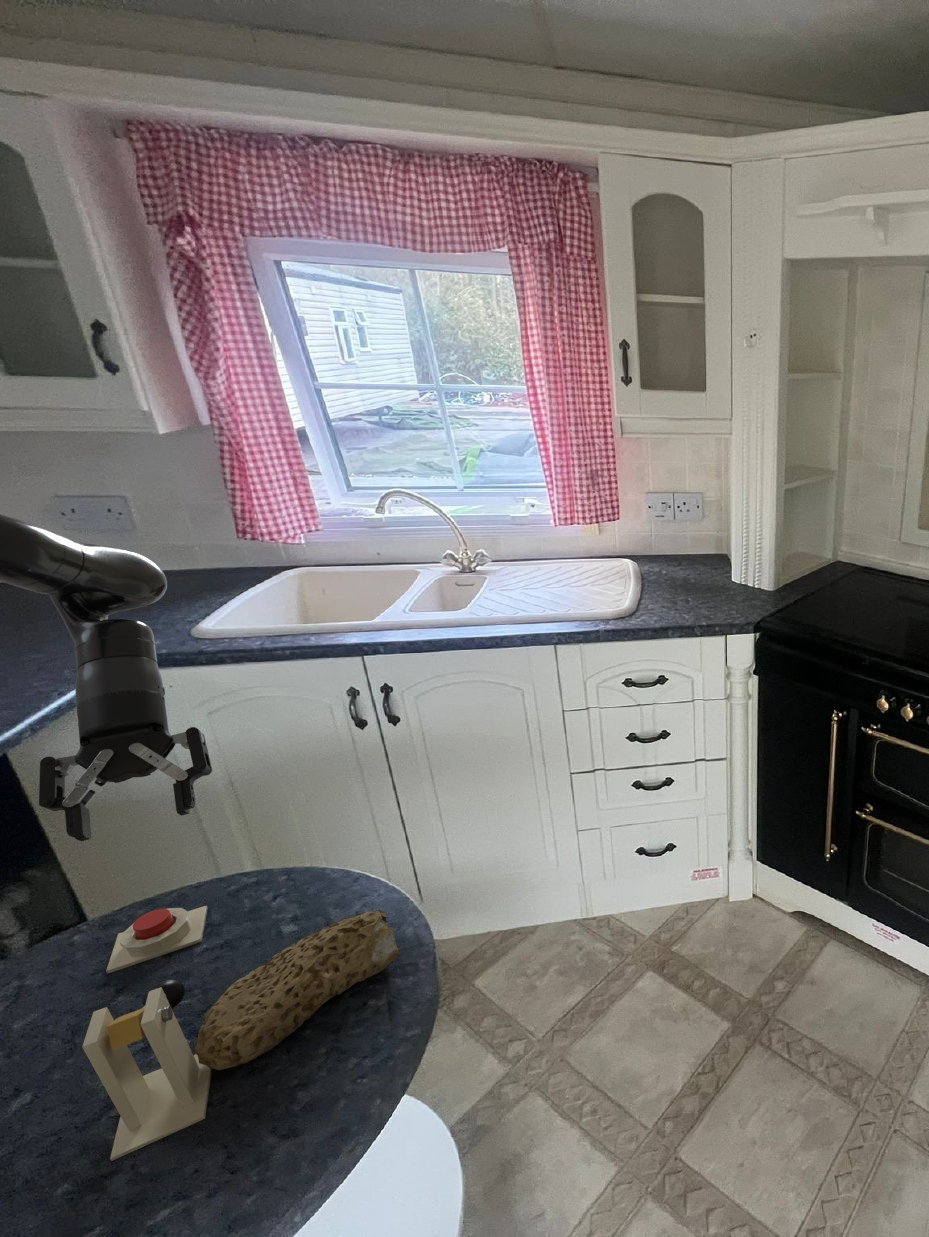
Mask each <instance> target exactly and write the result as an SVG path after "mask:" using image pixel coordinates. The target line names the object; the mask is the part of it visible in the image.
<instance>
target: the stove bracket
mask: <svg viewBox="0 0 929 1237" xmlns="http://www.w3.org/2000/svg"><path fill="white" fill-rule="evenodd" d="M114 1020H115V1019H114V1017H113V1016H112V1014H111V1011H110V1010H109V1008H108V1006H106V1007H103V1008H101V1009H100V1008H99V1009H98V1010H97V1009H96V1010H94V1011H93V1012H92V1015H91V1018H90V1022H89V1024H88V1028H87V1031H86V1034H85V1037H84V1040H83V1043H82V1047H81V1048H82V1049H83V1051H84V1053H85V1055H86V1056H87V1058H88V1060H89V1062H90V1064H91V1066H92V1067H93V1069H94V1071H95V1073H96V1075H97V1077H98V1078H99V1081H100V1082H101V1084H102V1085H103V1087H104V1088H105V1091H106V1093H107V1094H108V1096H109V1098H110V1100H111V1102H112V1103H113V1105H114V1107H115V1109H116V1110H117V1113H118V1114H119V1116H120V1117H119V1119H118V1120H119V1121H118V1125H117V1128H116V1133H115V1138H114V1141H113V1145H112V1150H111V1154H110V1156H109V1160H110V1161H111V1162H114V1161H116V1160H117V1159H120V1158H122V1157H123V1156H126V1155H128V1154H130V1153H132V1152H135V1151H137V1150H139V1149H141V1148H143V1147H146V1146H148V1145H150V1144H153V1143H154V1142H157V1141H159V1140H162V1139H163V1138H165V1137H167V1136H170V1135H172V1134H174V1133H177V1132H178V1131H182V1130H183V1129H185V1128H188V1127H190V1126H192V1125H194V1124H197V1123H198V1122H200V1121H203V1120H205V1119H206V1116H207V1110H208V1102H209V1095H210V1094H209V1093H210V1086H211V1079H212V1071H213V1069H212V1068H209V1067H208V1066H206V1065H204V1064H200V1063H199V1059H198V1055H197V1054H196V1053H195V1054H193V1052H192V1049H191V1047H190V1045H189V1043H188V1041H187V1038H186V1037H185V1034H184V1033H183V1030H182V1027H181V1026H180V1024H179V1021H178V1019H177V1017H176V1015H175V1013H174V1011H173V1009H172V1008H171V1006H170V1004H169V1002H168V1000H167V998H166V996H165V994H164V991H163V989H162V987H160V988H158V989H155V990H152V991H149V993H148V997H147V1001H146V1005H145V1009H144V1013H143V1017H142V1021H141V1027H142V1029H143V1031H144V1033H145V1035H146V1036H145V1037H146V1039H147V1041H148V1043H149V1045H150V1047H151V1049H152V1051H153V1054H154V1055H155V1058H156V1060H157V1061H158V1063H159V1065H160V1067H161V1068H159V1069H156V1070H154V1071H152V1072H149V1073H146V1074H145V1075H143V1074H142V1072H141V1070H140V1067H139V1066H138V1064H137V1062H136V1060H135V1058H134V1056H133V1054H132V1052H131V1051H130V1049H129V1047H128V1045H125V1046H123V1047H120V1048H118V1049H115V1050H112V1049H111V1044H110V1039H109V1034H108V1029H107V1026H108V1025H110V1024H111V1023H112V1022H113V1021H114Z"/></svg>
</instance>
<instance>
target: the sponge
mask: <svg viewBox="0 0 929 1237" xmlns="http://www.w3.org/2000/svg"><path fill="white" fill-rule="evenodd" d="M387 922H388V921H387V915H386V912H385V911H383V910H381V909H376V910H370V911H366V912H363V913H361V914H359V915H354V916H351V917H347V918H343V919H341V920H339V921H337V922H335V923H332V924H331V925H329V926H325V927H323V928H321V929H320V930H318V931H316V932H314V933H312V934H310V935H307V936H306V937H304V938H301V939H299V940H298V941H296V942H294V943H292V944H291V945H290V946H288V947H286V948H284V949H282V950H280V951H279V952H277V953H276V954H274V955H273V956H271V958H270V959H269V960H268V961H266V962H264V963H263V964H261V965H260V966H257V968H255V969H253V970H251V971H250V972H249V973H248V974H246V975H245V976H243V977H240V978H239V979H237V980H236V981H235V982H233V983H232V984H231V985H229V987H227V989H226V990H225V992H224V993H223V994H222V995H220V997H219V998H218V999H217V1001H216V1002H214V1003H213V1004H212V1006H211V1007H210V1008H209V1009H208V1010H207V1012H206V1013H205V1014H204V1015H203V1017H204V1024H203V1025H200V1027H199V1031H198V1034H197V1042H196V1045H195V1048H194V1053H195V1054H197V1055H198V1059H199V1063H200V1064H204V1065H206V1066H208V1067H209V1068H212V1070H217V1071H221V1070H222V1071H223V1070H226V1069H231V1068H236V1067H237V1066H239V1065H243V1064H247V1063H249V1062H251V1061H253V1060H255V1059H256V1058H258V1057H259V1056H261V1055H263V1054H265V1053H267V1052H269V1051H271V1050H272V1049H274V1048H275V1047H276V1046H278V1045H279V1044H280V1043H281V1042H283V1041H284V1039H285V1038H287V1037H289V1036H291V1035H292V1033H294V1032H296V1030H297V1029H299V1028H301V1026H302V1025H303V1024H304V1023H305V1021H306V1020H309V1019H310V1018H311V1017H312V1016H313V1015H314V1014H315V1013H316V1012H317V1011H318V1010H319V1009H320V1008H321V1007H322V1006H323V1005H324V1004H325V1003H327V1002H328V1001H329V1000H330V999H332V998H335V997H336V996H338V995H341V994H342V993H343V992H346V990H348V989H350V988H351V987H352V986H354V985H356V984H357V983H359V982H364V981H366V980H367V979H369V978H370V977H373V976H374V975H377V974H379V973H381V972H383V971H384V970H385V969H386V968H387V967H388V966H390V965H391V964H393V963H394V961H395V960H396V958H397V957H398V956H399V954H400V952H401V950H400V948H399V947H398V945H397V942H396V936H395V932H394V931H393V929H392V927H390V926H389V925H388V923H387Z"/></svg>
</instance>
